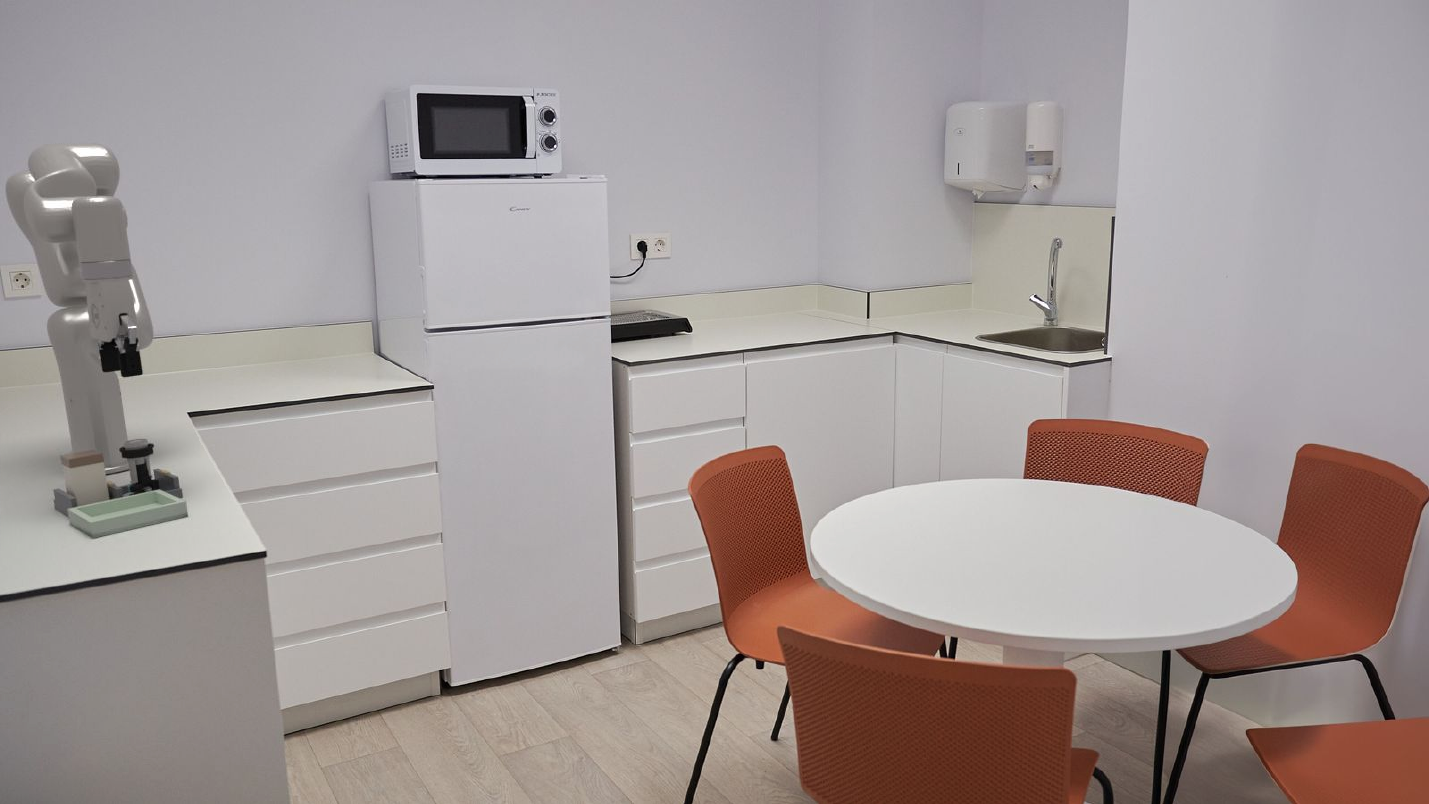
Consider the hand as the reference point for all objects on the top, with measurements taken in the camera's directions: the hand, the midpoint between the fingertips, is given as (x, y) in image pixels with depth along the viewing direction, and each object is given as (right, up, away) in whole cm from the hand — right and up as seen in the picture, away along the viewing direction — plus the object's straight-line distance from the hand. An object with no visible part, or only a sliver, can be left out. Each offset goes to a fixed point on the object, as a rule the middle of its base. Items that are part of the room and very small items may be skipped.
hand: (122, 373), depth 185 cm
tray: (+6, -24, -9) cm, 26 cm away
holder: (-2, -22, +2) cm, 22 cm away
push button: (+1, -22, +4) cm, 22 cm away
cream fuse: (-5, -23, -1) cm, 23 cm away
